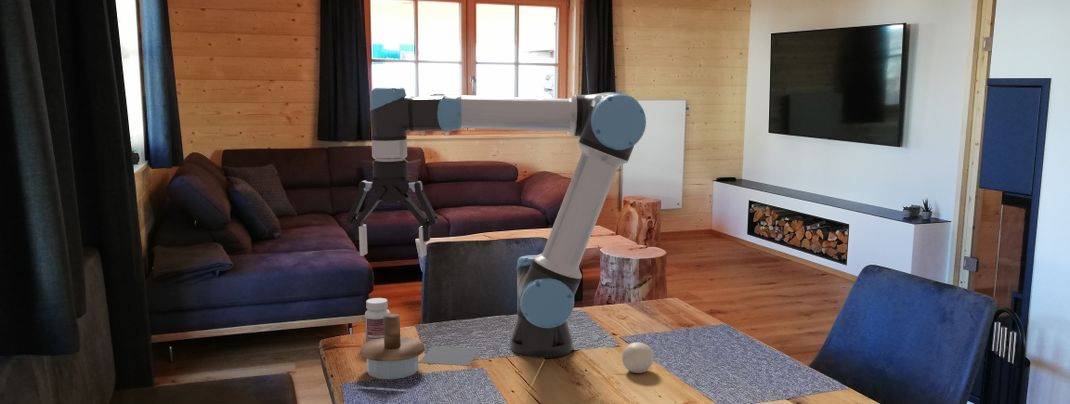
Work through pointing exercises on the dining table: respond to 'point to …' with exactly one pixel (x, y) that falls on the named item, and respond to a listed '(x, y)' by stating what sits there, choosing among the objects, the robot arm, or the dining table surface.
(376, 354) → the lid
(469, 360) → the mat
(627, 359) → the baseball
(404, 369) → the bowl
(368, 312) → the pill bottle
